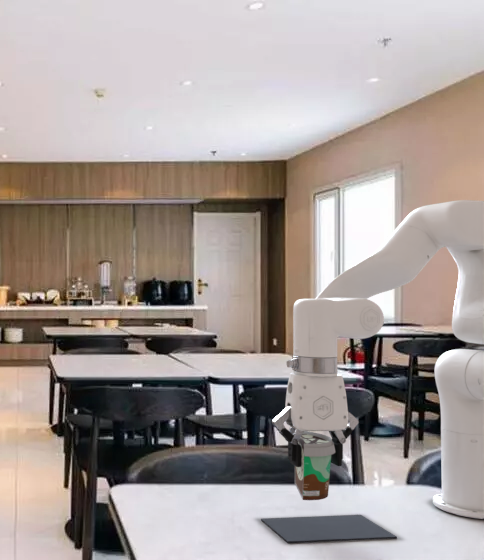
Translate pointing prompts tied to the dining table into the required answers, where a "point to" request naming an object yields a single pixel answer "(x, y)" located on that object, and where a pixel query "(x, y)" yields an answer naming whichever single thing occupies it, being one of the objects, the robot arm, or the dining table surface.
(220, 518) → the dining table surface
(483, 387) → the robot arm
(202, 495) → the dining table surface
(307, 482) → the food container
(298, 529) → the mat
